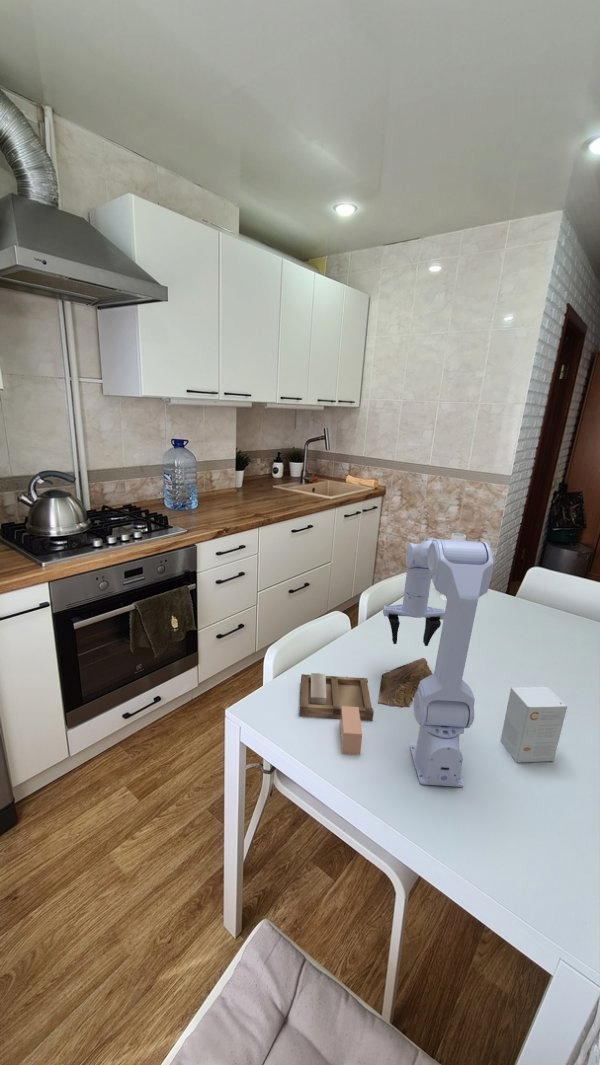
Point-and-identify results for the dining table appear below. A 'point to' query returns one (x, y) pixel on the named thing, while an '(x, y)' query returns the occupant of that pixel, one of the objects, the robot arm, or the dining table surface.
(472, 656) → the dining table surface
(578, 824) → the dining table surface
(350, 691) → the rack
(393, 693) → the wooden fragment
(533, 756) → the small box
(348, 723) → the clay bar
